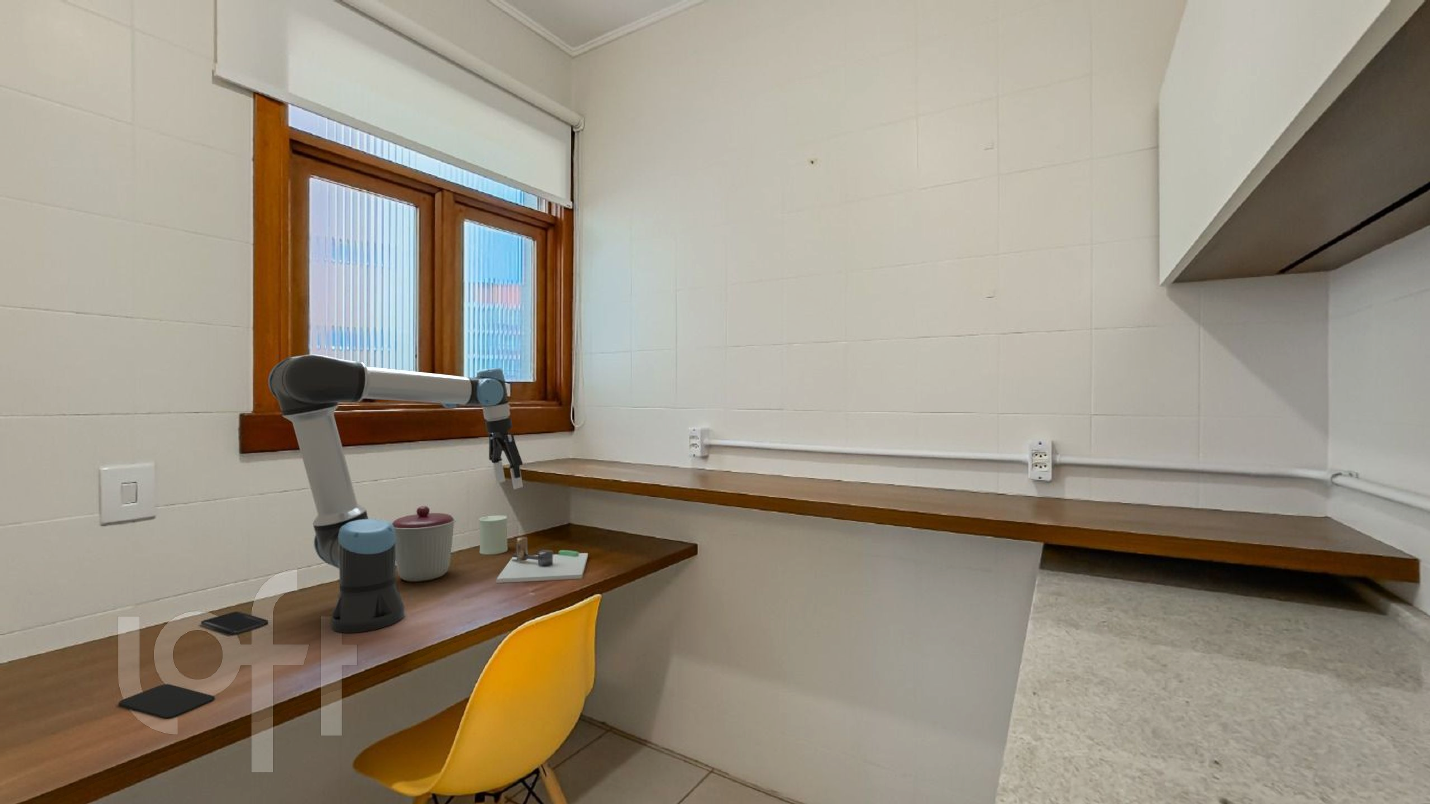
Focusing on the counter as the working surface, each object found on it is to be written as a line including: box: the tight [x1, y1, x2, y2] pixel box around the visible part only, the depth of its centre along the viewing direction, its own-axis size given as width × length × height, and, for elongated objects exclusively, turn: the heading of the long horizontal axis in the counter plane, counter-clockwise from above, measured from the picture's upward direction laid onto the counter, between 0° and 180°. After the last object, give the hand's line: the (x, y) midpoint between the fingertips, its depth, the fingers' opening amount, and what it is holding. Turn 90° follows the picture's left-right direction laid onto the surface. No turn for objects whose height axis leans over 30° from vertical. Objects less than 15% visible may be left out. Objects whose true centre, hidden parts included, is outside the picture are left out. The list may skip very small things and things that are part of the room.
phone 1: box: [118, 683, 216, 720], centre depth 105 cm, size 7×1×15 cm
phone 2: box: [200, 611, 269, 636], centre depth 141 cm, size 8×1×15 cm
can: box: [478, 515, 509, 556], centre depth 206 cm, size 9×9×12 cm
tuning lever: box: [512, 536, 554, 566], centre depth 186 cm, size 14×4×7 cm, turn 68°
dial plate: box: [496, 549, 589, 584], centre depth 184 cm, size 24×24×2 cm
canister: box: [390, 505, 457, 582], centre depth 177 cm, size 18×18×21 cm
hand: (509, 485), depth 185 cm, fingers open, 13 cm apart
